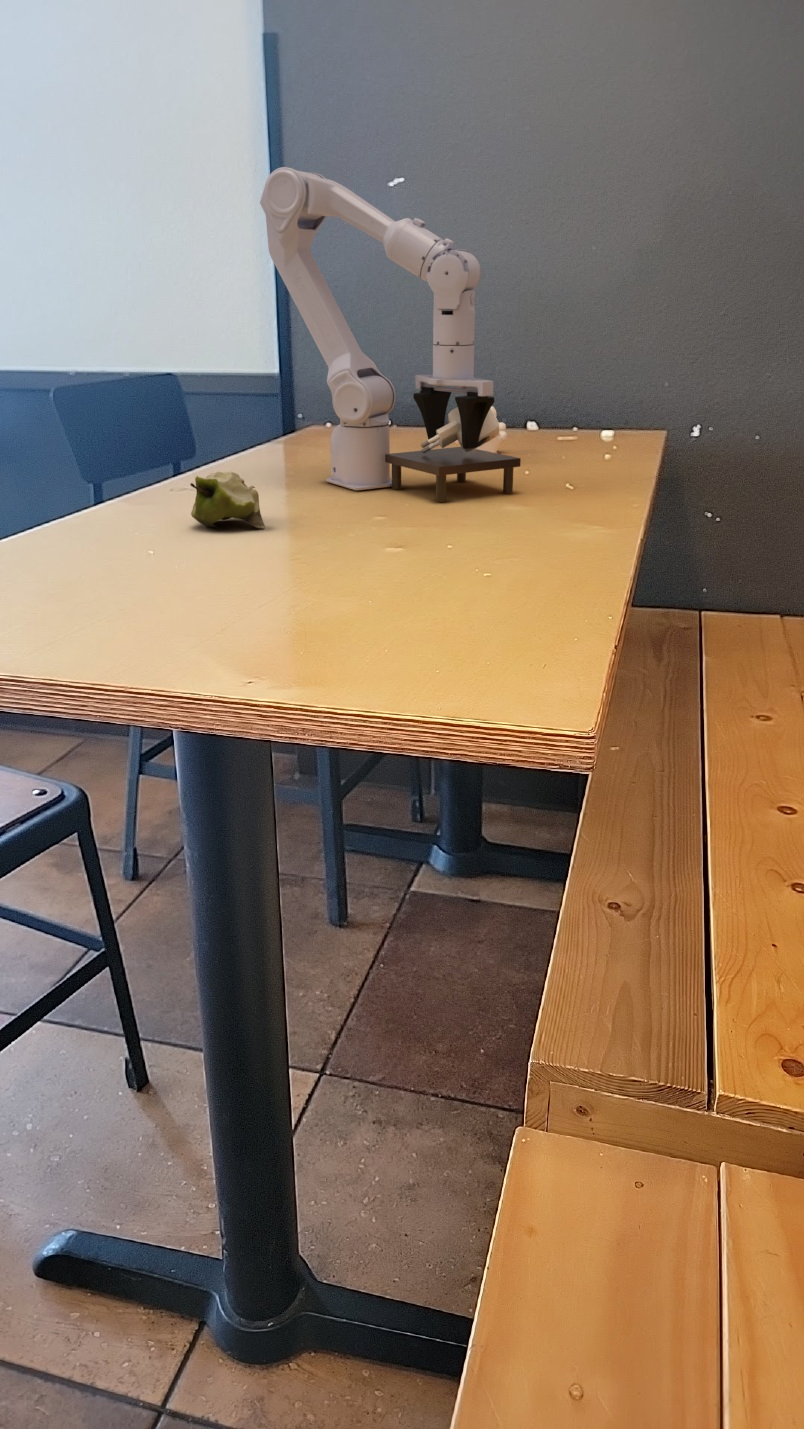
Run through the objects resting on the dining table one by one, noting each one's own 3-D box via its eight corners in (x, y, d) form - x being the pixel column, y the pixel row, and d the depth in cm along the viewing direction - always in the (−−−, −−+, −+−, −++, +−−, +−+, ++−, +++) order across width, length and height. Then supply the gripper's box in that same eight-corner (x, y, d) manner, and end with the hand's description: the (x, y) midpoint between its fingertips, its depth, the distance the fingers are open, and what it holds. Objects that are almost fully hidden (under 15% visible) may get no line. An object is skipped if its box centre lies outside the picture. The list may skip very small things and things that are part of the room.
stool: (385, 488, 157) (385, 454, 155) (463, 479, 164) (463, 446, 162) (438, 503, 146) (438, 466, 144) (519, 493, 153) (520, 458, 151)
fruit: (210, 547, 128) (191, 481, 125) (191, 538, 136) (172, 476, 133) (281, 525, 131) (263, 460, 128) (257, 517, 139) (241, 456, 136)
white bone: (506, 465, 176) (508, 414, 173) (454, 464, 177) (455, 414, 174) (505, 451, 190) (506, 404, 187) (456, 451, 191) (457, 404, 188)
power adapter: (432, 464, 150) (412, 428, 150) (433, 474, 155) (414, 439, 155) (501, 426, 149) (482, 390, 150) (500, 437, 154) (481, 402, 155)
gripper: (398, 343, 150) (399, 442, 155) (466, 348, 140) (464, 453, 145) (436, 341, 154) (436, 437, 159) (505, 346, 144) (502, 448, 149)
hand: (452, 445), depth 152 cm, fingers closed on power adapter, 7 cm apart
